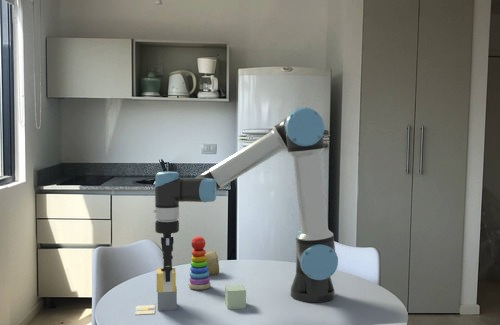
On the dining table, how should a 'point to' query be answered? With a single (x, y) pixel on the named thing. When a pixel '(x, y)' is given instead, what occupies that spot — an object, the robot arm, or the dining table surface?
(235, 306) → the sage brick
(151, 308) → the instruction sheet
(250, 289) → the dining table surface
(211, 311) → the dining table surface
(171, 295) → the slate brick
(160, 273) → the mustard brick
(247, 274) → the dining table surface
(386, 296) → the dining table surface
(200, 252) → the stacking toy
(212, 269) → the tan rough rounded lump
